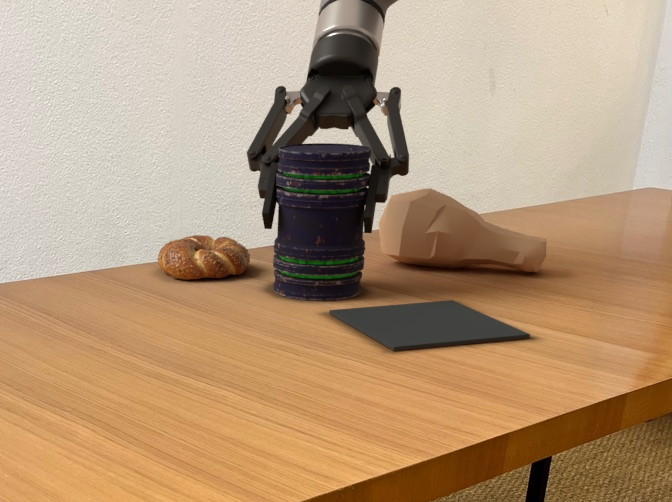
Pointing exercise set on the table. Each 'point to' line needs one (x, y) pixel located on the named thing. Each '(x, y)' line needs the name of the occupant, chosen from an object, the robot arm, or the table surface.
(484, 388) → the table surface
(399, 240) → the squash
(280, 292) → the dark purple barrel
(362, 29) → the robot arm
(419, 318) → the coaster
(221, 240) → the braided bread ring
